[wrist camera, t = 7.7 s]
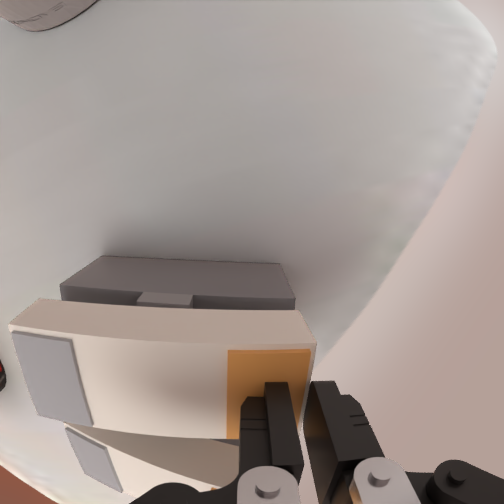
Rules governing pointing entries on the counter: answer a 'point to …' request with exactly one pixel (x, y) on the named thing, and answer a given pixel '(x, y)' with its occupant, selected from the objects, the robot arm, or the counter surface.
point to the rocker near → (159, 365)
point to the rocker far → (152, 459)
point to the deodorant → (2, 377)
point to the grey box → (181, 286)
